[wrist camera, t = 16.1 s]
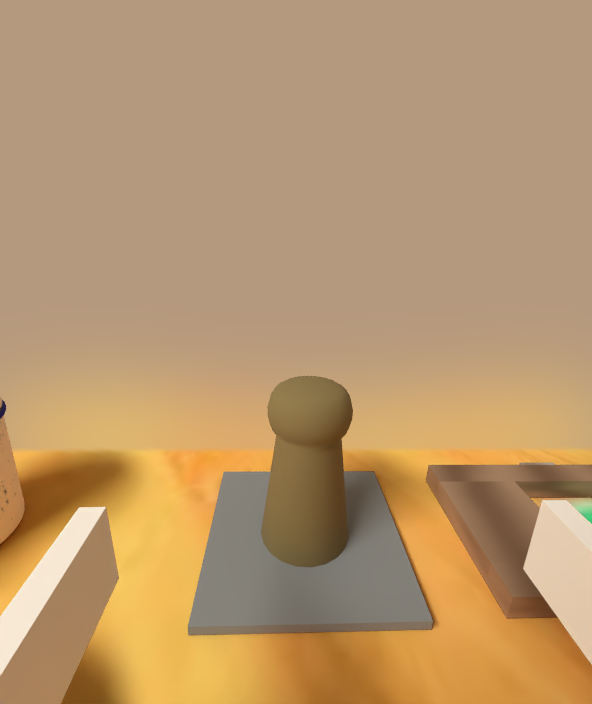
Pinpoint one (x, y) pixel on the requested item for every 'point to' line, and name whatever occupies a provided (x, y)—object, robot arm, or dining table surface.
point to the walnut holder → (504, 520)
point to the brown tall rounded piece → (307, 472)
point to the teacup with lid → (8, 484)
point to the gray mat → (305, 570)
